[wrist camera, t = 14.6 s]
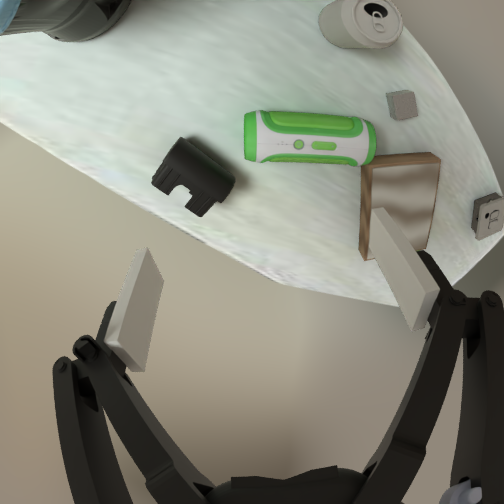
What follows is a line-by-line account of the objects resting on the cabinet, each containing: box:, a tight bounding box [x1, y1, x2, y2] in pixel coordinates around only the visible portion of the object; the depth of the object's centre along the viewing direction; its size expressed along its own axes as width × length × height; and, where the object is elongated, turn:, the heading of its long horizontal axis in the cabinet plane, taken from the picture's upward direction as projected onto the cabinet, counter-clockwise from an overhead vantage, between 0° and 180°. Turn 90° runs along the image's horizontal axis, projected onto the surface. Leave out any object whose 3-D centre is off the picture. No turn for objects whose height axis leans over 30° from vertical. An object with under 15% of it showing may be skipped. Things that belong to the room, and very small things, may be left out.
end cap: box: [151, 137, 235, 217], centre depth 40 cm, size 10×7×7 cm
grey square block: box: [386, 90, 418, 120], centre depth 36 cm, size 4×4×2 cm
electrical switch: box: [471, 193, 504, 240], centre depth 47 cm, size 9×5×9 cm
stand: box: [359, 152, 441, 261], centre depth 46 cm, size 19×14×4 cm
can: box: [318, 0, 403, 48], centre depth 24 cm, size 8×8×12 cm
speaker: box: [244, 110, 376, 166], centre depth 37 cm, size 18×7×8 cm, turn 89°
